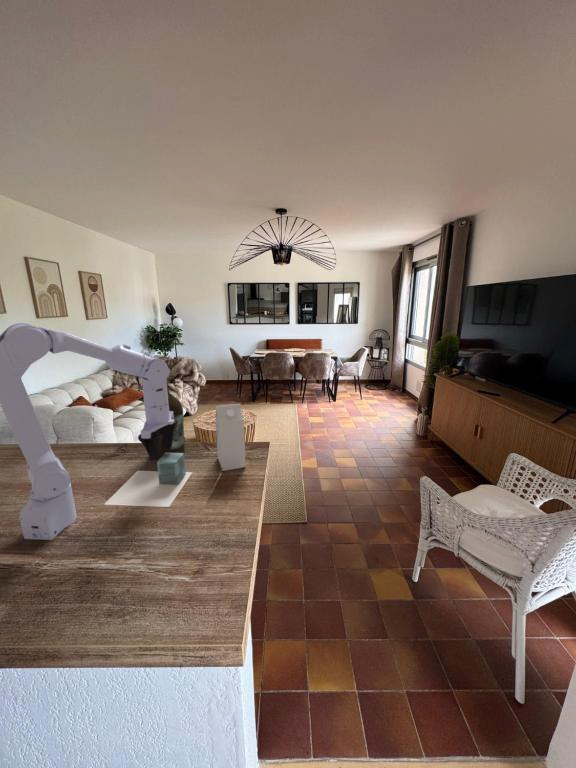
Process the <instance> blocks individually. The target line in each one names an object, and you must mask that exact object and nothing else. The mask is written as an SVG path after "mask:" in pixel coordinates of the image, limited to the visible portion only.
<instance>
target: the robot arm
mask: <svg viewBox="0 0 576 768" xmlns="http://www.w3.org/2000/svg"><path fill="white" fill-rule="evenodd" d="M49 352H50V353H52V354H53V355H54V354H56V355H57V354H59V353H64V352H71V353H75V354H79V355H81V356H86V357H89V358H93V359H97V360H99V361H104V362H105V363H106V364H107V366H108V368H109V369H110V370H113V371H117V372H119V373H125V374H128V375H131V376H134V377H140V378H141V385H142V395H143V404H144V405H143V406H144V412H145V413H144V414H145V422H144V425H143V428H142V429H141V430H140V434H139V435H138V436H137V438H138V439H137V440H138V441H139V442H140V443H141V444H142V446H143V447H144V448H145V451H146V452H147V455H148V458H149V459H150V460H151V461H158V460H159V459H160V445H161V440H162V444H163V447H171V446H172V442H173V435H174V431H175V428H176V425H177V423H178V421H177V420H174V419H173V418H174V414H173V411H169V404H168V393H167V383H166V380H167V379H168V378H169V376H170V372H171V368H169V367H168V364H167V363H166V361H165V360H163V359H160V358H159V357H158V358H157V357H155V356H151V354H150V353H148V352H143V353H142V352H140V351H137V350H134V349H132V346H131V345H127V344H123V346H122V345H120V344H118V345H115V346H113V347H107V346H104V345H101V344H100V343H99V344H98V343H96V342H93V341H90V340H87V339H86V338H82V337H79V336H76V335H73V334H72V333H68V332H65V331H62V330H57V329H51V328H47V327H40V326H35V325H32V324H29V323H24V322H17V323H14V324H11V325H10V326H8V327H7V328H6V329H5V330H4V331H3V332H2V333H1V334H0V407H1V409H2V412H3V413H4V415H5V418H6V420H7V423H8V424H9V426H10V429H11V431H12V433H13V435H14V437H15V439H16V441H17V443H18V445H19V448H20V450H21V452H22V455H23V456H24V458H25V461H26V463H27V467H26V475H27V477H28V479H29V480H30V484H31V486H32V487H31V489H30V490H31V491H29V499H28V502H27V503H26V505H25V506H24V507H23V508H22V509H21V510H20V512H19V513H18V514H19V515H18V516H19V523H20V527H21V531H22V535H23V539H24V540H43V541H44V540H46V541H52V540H54V538H55V537H57V535H59V534H60V533H61V532H62V531H63V530H65V529H66V528H67V527H69V526H70V525H72V524H73V523H74V522H75V521H76V519H77V517H78V516H77V510H76V505H75V499H74V495H73V489H72V484H71V476H70V474H69V472H68V471H67V470H66V469H65V467H64V466H63V463H62V462H61V460H60V458H59V457H58V456H56V455H55V454H54V451H52V447H51V446H50V443H49V441H48V438H47V436H46V434H45V431H44V428H43V426H42V424H41V422H40V420H39V418H38V415H37V412H36V410H35V408H34V405H33V403H32V401H31V399H30V396H29V393H28V391H27V389H26V387H25V385H24V383H23V379H22V377H23V376H24V374H25V373H26V372H27V371H28V369H29V368H30V366H32V364H34V363H36V362H37V361H39V360H40V359H42V358H43V357H45V356H46V355H47V354H48V353H49ZM157 429H158V430H159V432H160V435H157V434H155V431H156V430H157ZM150 460H149V461H150Z"/></svg>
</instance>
